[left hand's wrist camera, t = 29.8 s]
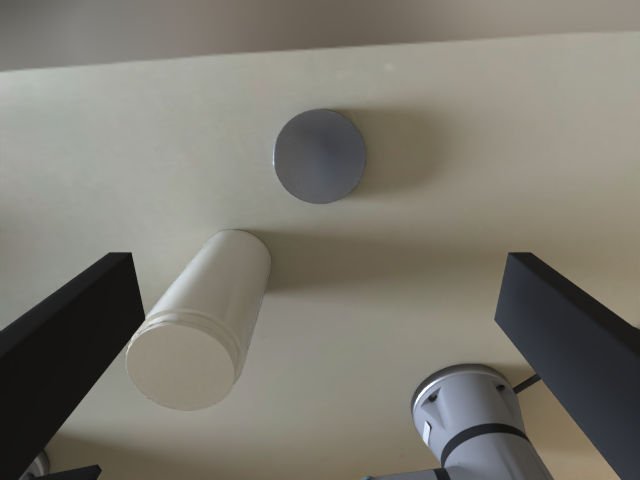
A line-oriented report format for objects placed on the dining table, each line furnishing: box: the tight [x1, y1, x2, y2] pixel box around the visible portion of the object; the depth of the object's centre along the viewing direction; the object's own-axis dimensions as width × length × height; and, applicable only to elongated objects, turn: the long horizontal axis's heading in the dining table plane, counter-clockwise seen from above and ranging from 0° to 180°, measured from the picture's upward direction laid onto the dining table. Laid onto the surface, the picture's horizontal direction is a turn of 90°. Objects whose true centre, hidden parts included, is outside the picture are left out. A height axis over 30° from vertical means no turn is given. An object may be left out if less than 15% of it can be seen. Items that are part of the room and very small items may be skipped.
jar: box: [126, 230, 272, 411], centre depth 36 cm, size 9×9×19 cm
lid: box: [273, 109, 366, 204], centre depth 40 cm, size 10×10×2 cm
